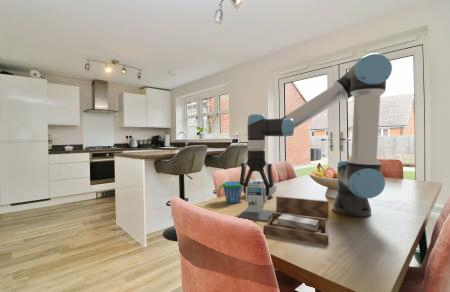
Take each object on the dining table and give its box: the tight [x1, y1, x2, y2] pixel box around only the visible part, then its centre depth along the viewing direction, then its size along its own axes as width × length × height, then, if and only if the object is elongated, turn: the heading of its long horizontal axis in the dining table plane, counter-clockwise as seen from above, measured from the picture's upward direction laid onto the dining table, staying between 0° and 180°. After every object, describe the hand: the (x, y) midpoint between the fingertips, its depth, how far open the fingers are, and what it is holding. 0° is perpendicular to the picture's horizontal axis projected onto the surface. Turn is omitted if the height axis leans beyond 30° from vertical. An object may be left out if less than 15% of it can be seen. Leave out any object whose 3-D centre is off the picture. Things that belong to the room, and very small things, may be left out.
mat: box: [237, 207, 276, 223], centre depth 101 cm, size 13×13×1 cm
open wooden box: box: [263, 195, 330, 246], centre depth 87 cm, size 21×23×8 cm
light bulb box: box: [247, 178, 265, 210], centre depth 101 cm, size 11×7×11 cm, turn 168°
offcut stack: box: [272, 214, 321, 233], centre depth 82 cm, size 16×6×5 cm, turn 61°
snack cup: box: [217, 180, 246, 204], centre depth 122 cm, size 16×10×10 cm
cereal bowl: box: [264, 181, 278, 198], centre depth 134 cm, size 17×17×7 cm
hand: (256, 201), depth 101 cm, fingers closed on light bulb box, 7 cm apart
